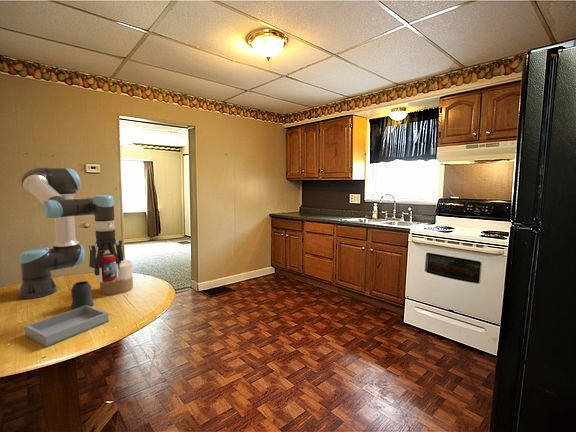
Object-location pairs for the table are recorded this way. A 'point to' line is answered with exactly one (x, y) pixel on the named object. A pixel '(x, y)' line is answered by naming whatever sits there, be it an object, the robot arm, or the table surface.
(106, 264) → the beverage can
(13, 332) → the table surface
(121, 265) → the vase
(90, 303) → the mug
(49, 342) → the bin
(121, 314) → the table surface
